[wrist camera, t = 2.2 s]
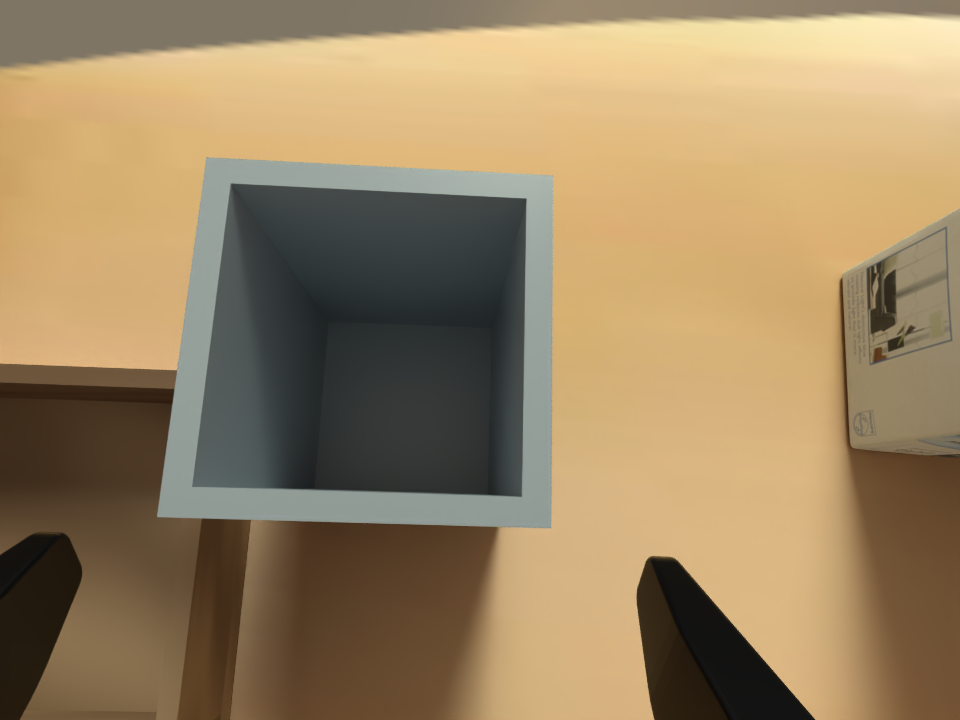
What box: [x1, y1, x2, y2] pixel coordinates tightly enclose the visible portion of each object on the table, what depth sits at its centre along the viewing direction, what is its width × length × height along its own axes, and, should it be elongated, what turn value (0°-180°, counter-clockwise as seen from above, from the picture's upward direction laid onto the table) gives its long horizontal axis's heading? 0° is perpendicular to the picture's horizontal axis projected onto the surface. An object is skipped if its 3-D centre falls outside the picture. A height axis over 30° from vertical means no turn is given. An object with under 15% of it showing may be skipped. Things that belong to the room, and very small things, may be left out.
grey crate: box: [157, 157, 553, 528], centre depth 16 cm, size 6×6×10 cm
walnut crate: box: [0, 364, 250, 720], centre depth 17 cm, size 10×10×4 cm
